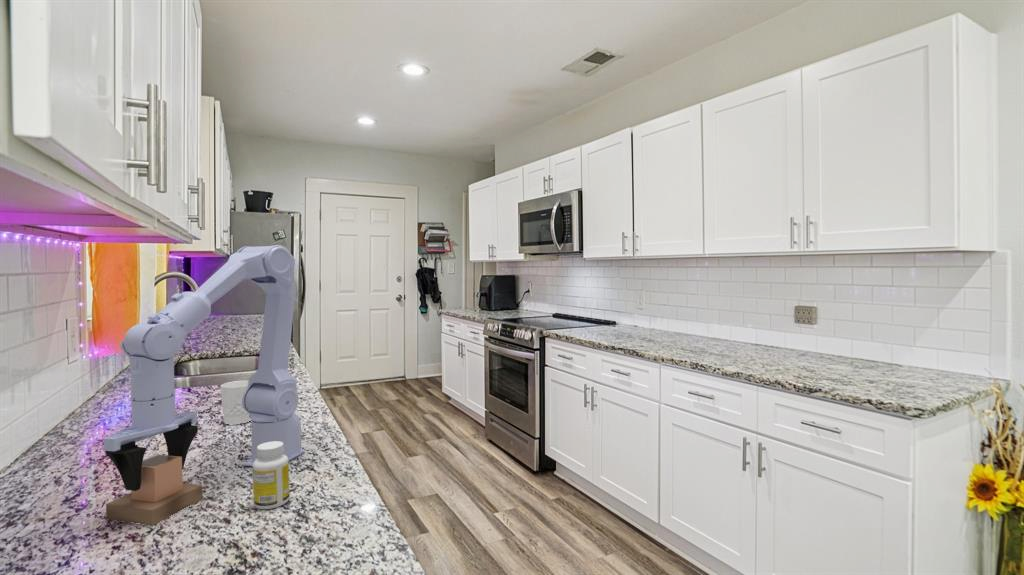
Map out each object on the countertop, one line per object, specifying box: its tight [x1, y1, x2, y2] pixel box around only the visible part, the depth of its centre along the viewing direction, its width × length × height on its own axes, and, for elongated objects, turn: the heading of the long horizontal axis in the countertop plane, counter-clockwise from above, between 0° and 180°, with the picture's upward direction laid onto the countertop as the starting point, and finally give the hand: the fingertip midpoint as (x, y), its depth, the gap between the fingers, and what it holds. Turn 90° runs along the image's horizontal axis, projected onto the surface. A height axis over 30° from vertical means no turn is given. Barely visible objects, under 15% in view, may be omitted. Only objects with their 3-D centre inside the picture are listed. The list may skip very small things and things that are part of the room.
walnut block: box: [105, 482, 203, 527], centre depth 80 cm, size 9×9×3 cm
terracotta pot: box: [130, 454, 184, 502], centre depth 80 cm, size 5×5×6 cm
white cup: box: [220, 379, 251, 425], centre depth 127 cm, size 8×8×10 cm
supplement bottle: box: [252, 441, 290, 510], centre depth 82 cm, size 5×5×10 cm
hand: (155, 479), depth 80 cm, fingers open, 7 cm apart
